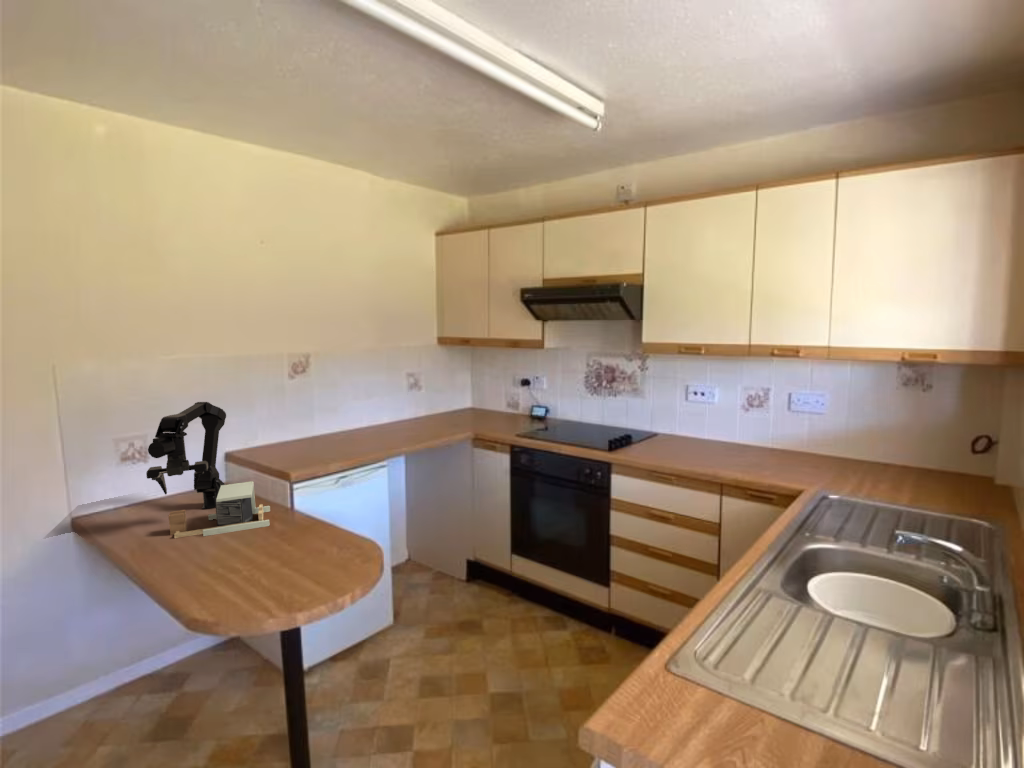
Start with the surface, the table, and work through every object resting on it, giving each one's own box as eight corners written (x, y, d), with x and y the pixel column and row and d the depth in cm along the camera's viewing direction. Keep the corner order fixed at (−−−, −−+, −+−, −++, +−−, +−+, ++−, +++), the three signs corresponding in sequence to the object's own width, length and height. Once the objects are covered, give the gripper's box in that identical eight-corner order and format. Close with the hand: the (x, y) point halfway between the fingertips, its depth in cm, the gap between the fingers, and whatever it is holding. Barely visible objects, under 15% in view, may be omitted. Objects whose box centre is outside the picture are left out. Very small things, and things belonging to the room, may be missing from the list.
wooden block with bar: (174, 527, 198) (172, 508, 197) (263, 514, 209) (262, 496, 208) (168, 539, 187) (166, 519, 186) (262, 524, 199) (261, 506, 198)
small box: (254, 520, 203) (251, 492, 202) (244, 526, 197) (241, 498, 196) (227, 519, 204) (224, 492, 203) (216, 526, 198) (213, 498, 197)
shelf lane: (209, 519, 205) (205, 487, 203) (270, 510, 213) (267, 479, 211) (203, 536, 189) (199, 501, 188) (269, 525, 197) (266, 492, 196)
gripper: (140, 459, 187) (146, 503, 189) (203, 452, 194) (207, 494, 197) (147, 451, 197) (152, 493, 199) (206, 445, 204) (210, 485, 207)
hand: (180, 492), depth 200 cm, fingers open, 9 cm apart
